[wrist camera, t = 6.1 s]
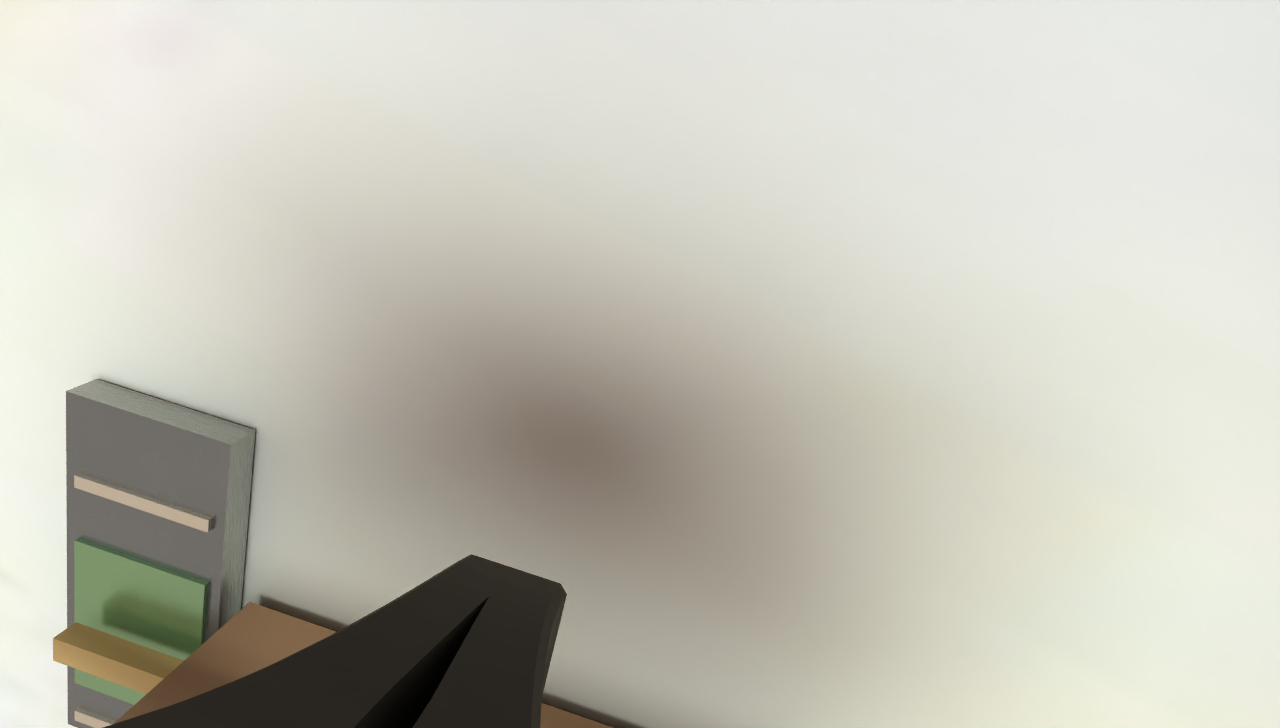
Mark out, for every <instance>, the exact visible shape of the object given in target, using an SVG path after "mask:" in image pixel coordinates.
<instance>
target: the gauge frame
mask: <svg viewBox="0 0 1280 728" xmlns="http://www.w3.org/2000/svg"><path fill="white" fill-rule="evenodd" d="M254 442H255V430H254V429H251V428H248V427H245V426H242V425H239V424H236V423H233V422H229V421H226V420H223V419H220V418H217V417H214V416H211V415H208V414H205V413H201V412H198V411H195V410H192V409H189V408H186V407H183V406H180V405H176V404H173V403H170V402H167V401H164V400H161V399H158V398H155V397H151V396H148V395H145V394H142V393H139V392H136V391H133V390H130V389H127V388H123V387H120V386H117V385H114V384H111V383H108V382H105V381H102V380H98V379H96V380H93V381H91V382H88V383H86V384H83V385H81V386H78V387H76V388H73V389H71V390H68V391H66V452H67V628H68V627H70V626H71V625H73V624H74V623H75V622H77V623H80V624H83V625H86V626H88V627H91V628H94V629H97V630H100V631H102V632H105V633H108V634H111V635H114V636H116V637H119V638H122V639H125V640H128V641H130V642H133V643H136V644H139V645H141V646H144V647H147V648H150V649H153V650H155V651H158V652H161V653H164V654H167V655H169V656H172V657H175V658H178V659H180V660H183V661H184V660H185V659H187V658H188V657H189V656H190V655H191V654H192V653H193V652H194V651H196V650H197V649H198V648H199V647H200V646H201V645H202V644H203V643H204V642H206V641H207V640H208V639H209V638H210V637H211V636H212V635H213V634H215V633H216V632H217V631H218V630H219V629H220V628H221V627H222V626H224V625H225V624H226V623H227V622H228V621H229V620H230V619H231V618H233V617H234V616H235V615H236V614H237V613H238V612H239V611H240V610H241V603H242V590H243V578H244V566H245V553H246V541H247V529H248V516H249V504H250V492H251V479H252V467H253V455H254ZM145 695H146V694H144V693H141V692H138V691H136V690H133V689H130V688H128V687H125V686H122V685H119V684H117V683H114V682H111V681H108V680H106V679H103V678H100V677H97V676H95V675H92V674H89V673H87V672H84V671H81V670H78V669H76V668H73V667H70V666H68V724H70V725H72V726H75V727H78V728H103V727H106V726H109V725H112V724H114V723H115V722H116V721H117V720H118V719H119V718H120V717H121V716H123V715H124V714H125V713H126V712H127V711H128V710H129V709H130V708H132V707H133V706H134V705H135V704H136V703H137V702H138V701H139V700H141V699H142V698H143V697H144V696H145Z"/></svg>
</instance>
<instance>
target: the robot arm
mask: <svg viewBox="0 0 1280 728" xmlns="http://www.w3.org/2000/svg"><path fill="white" fill-rule="evenodd" d="M566 595H567V594H566V592H565V591H564V589H563V587H562V585H561V584H560V583H557V582H554V581H551V580H548V579H545V578H542V577H539V576H536V575H532V574H529V573H526V572H523V571H520V570H517V569H514V568H511V567H508V566H505V565H502V564H499V563H496V562H493V561H490V560H487V559H484V558H481V557H478V556H475V555H470V556H468V557H465V558H463V559H462V560H460V561H458V562H456V563H455V564H453V565H451V566H450V567H448V568H447V569H445V570H443V571H442V572H440V573H438V574H437V575H435V576H433V577H432V578H430V579H429V580H427V581H425V582H424V583H422V584H420V585H419V586H417V587H415V588H414V589H412V590H410V591H409V592H407V593H405V594H404V595H402V596H400V597H399V598H397V599H395V600H393V601H392V602H390V603H388V604H386V605H385V606H383V607H381V608H379V609H378V610H376V611H374V612H372V613H370V614H369V615H367V616H365V617H363V618H361V619H360V620H358V621H356V622H354V623H353V624H351V625H349V626H347V627H345V628H343V629H342V630H340V631H338V632H336V633H334V634H332V635H330V636H328V637H326V638H324V639H322V640H320V641H318V642H316V643H314V644H312V645H310V646H308V647H306V648H304V649H302V650H300V651H298V652H296V653H294V654H292V655H290V656H288V657H286V658H284V659H282V660H280V661H278V662H276V663H273V664H271V665H269V666H267V667H265V668H262V669H260V670H258V671H256V672H254V673H251V674H249V675H247V676H245V677H242V678H240V679H238V680H235V681H233V682H230V683H228V684H225V685H223V686H220V687H218V688H215V689H213V690H210V691H208V692H205V693H202V694H200V695H197V696H195V697H192V698H190V699H187V700H184V701H181V702H179V703H176V704H173V705H171V706H167V707H164V708H161V709H158V710H155V711H152V712H149V713H146V714H143V715H140V716H137V717H134V718H131V719H127V720H124V721H121V722H118V723H115V724H112V725H109V726H106V727H103V728H540V724H541V704H542V694H543V690H544V686H545V682H546V678H547V673H548V669H549V665H550V661H551V657H552V653H553V649H554V645H555V640H556V636H557V632H558V628H559V624H560V620H561V616H562V612H563V608H564V603H565V599H566Z"/></svg>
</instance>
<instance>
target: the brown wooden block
mask: <svg viewBox="0 0 1280 728" xmlns="http://www.w3.org/2000/svg"><path fill="white" fill-rule="evenodd" d="M334 633H336V631H333V630H330V629H327V628H324V627H321V626H318V625H316V624H313V623H310V622H307V621H304V620H301V619H298V618H295V617H292V616H290V615H287V614H284V613H281V612H278V611H275V610H272V609H269V608H266V607H264V606H261V605H258V604H255V603H252V602H249V603H248V604H247V605H246V606H245V607H244V608H243V609H242V610H240V611H239V612H238V613H237V614H236V615H235V616H234V617H233V618H231V619H230V620H229V621H228V622H227V623H226V624H225V625H224V626H222V627H221V628H220V629H219V630H218V631H217V632H216V633H215V634H213V635H212V636H211V637H210V638H209V639H208V640H207V641H206V642H204V643H203V644H202V645H201V646H200V647H199V648H198V649H197V650H196V651H194V652H193V653H192V654H191V655H190V656H189V657H188V658H187V659H185V660H184V661H183V660H180V659H178V658H175V657H172V656H169V655H167V654H164V653H161V652H158V651H155V650H153V649H150V648H147V647H144V646H141V645H139V644H136V643H133V642H130V641H128V640H125V639H122V638H119V637H116V636H114V635H111V634H108V633H105V632H102V631H100V630H97V629H94V628H91V627H88V626H86V625H83V624H80V623H77V622H75V623H74V624H73V625H71V626H70V627H68V628H67V629H66V630H64V631H63V632H61V633H60V634H59V635H57V636H56V637H54V638H53V660H54V661H56V662H59V663H62V664H65V665H67V666H70V667H73V668H76V669H78V670H81V671H84V672H87V673H89V674H92V675H95V676H97V677H100V678H103V679H106V680H108V681H111V682H114V683H117V684H119V685H122V686H125V687H128V688H130V689H133V690H136V691H138V692H141V693H144V694H146V695H145V696H144V697H143V698H142V699H141V700H139V701H138V702H137V703H136V704H135V705H134V706H133V707H132V708H130V709H129V710H128V711H127V712H126V713H125V714H124V715H123V716H121V717H120V718H119V719H118V720H117V721H116V722H115V723H118V722H121V721H124V720H127V719H131V718H134V717H137V716H140V715H143V714H146V713H149V712H152V711H155V710H158V709H161V708H164V707H167V706H171V705H173V704H176V703H179V702H181V701H184V700H187V699H190V698H192V697H195V696H197V695H200V694H202V693H205V692H208V691H210V690H213V689H215V688H218V687H220V686H223V685H225V684H228V683H230V682H233V681H235V680H238V679H240V678H242V677H245V676H247V675H249V674H251V673H254V672H256V671H258V670H260V669H262V668H265V667H267V666H269V665H271V664H273V663H276V662H278V661H280V660H282V659H284V658H286V657H288V656H290V655H292V654H294V653H296V652H298V651H300V650H302V649H304V648H306V647H308V646H310V645H312V644H314V643H316V642H318V641H320V640H322V639H324V638H326V637H328V636H330V635H332V634H334ZM115 723H114V724H115ZM540 728H613V727H610V726H607V725H604V724H601V723H598V722H596V721H593V720H590V719H587V718H584V717H581V716H578V715H575V714H572V713H570V712H567V711H564V710H561V709H558V708H555V707H552V706H549V705H546V704H544V703H542V704H541V724H540Z"/></svg>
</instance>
